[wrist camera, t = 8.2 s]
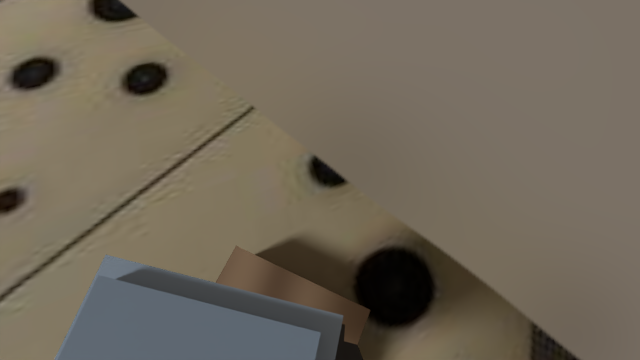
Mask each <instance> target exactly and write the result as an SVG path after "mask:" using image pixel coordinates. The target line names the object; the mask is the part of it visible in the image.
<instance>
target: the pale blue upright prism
mask: <svg viewBox="0 0 640 360" xmlns="http://www.w3.org/2000/svg"><path fill="white" fill-rule="evenodd" d="M342 321H343V315H340V314H336V313H332V312H328V311H324V310H320V309H316V308H312V307H308V306H304V305H300V304H296V303H293V302H289V301H285V300H281V299H277V298H273V297H269V296H265V295H261V294H257V293H253V292H250V291H246V290H242V289H238V288H234V287H230V286H226V285H222V284H218V283H214V282H210V281H206V280H203V279H199V278H195V277H191V276H187V275H183V274H179V273H175V272H171V271H167V270H163V269H160V268H156V267H152V266H148V265H144V264H140V263H136V262H132V261H128V260H124V259H120V258H117V257H113V256H109V255H105V257H104V259H103V261H102V264H101V266H100V268H99V270H98V272H97V274H96V276H95V278H94V280H93V282H92V284H91V286H90V288H89V290H88V292H87V294H86V296H85V298H84V300H83V302H82V304H81V306H80V308H79V311H78V313H77V315H76V317H75V319H74V321H73V323H72V325H71V327H70V329H69V331H68V333H67V335H66V337H65V339H64V341H63V343H62V345H61V347H60V349H59V351H58V353H57V356H56V358H55V360H335V357H336V352H337V347H338V341H339V336H340V331H341V326H342Z"/></svg>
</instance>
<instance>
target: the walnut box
mask: <svg viewBox="0 0 640 360" xmlns="http://www.w3.org/2000/svg"><path fill="white" fill-rule="evenodd" d="M216 283H218V284H222V285H226V286H230V287H234V288H238V289H242V290H246V291H250V292H253V293H257V294H261V295H265V296H269V297H273V298H277V299H281V300H285V301H289V302H293V303H296V304H300V305H304V306H308V307H312V308H316V309H320V310H324V311H328V312H332V313H336V314H340V315H343V321H342V324H345V334H344V341H346V342H349V343H353V344H357V345H358V343H359V340H360V337H361V335H362V332H363V329H364V326H365V324H366V321H367V318H368V316H369V313H370V310H369V309H367V308H365V307H363V306H361V305H359V304H357V303H355V302H353V301H351V300H348V299H346V298H344V297H342V296H340V295H338V294H336V293H334V292H332V291H330V290H328V289H325V288H323V287H321V286H319V285H317V284H315V283H313V282H311V281H309V280H307V279H305V278H302V277H300V276H298V275H296V274H294V273H292V272H290V271H288V270H286V269H284V268H281V267H279V266H277V265H275V264H273V263H271V262H269V261H267V260H265V259H263V258H261V257H258V256H256V255H254V254H252V253H250V252H248V251H246V250H244V249H242V248H240V247H238V246H236V247H235V249H234V251H233V252H232V254H231V256H230V258H229V260H228V261H227V263H226V265H225V267H224V269H223V270H222V272H221V274H220V276H219V278H218V279H217V281H216Z"/></svg>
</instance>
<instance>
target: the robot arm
mask: <svg viewBox="0 0 640 360" xmlns="http://www.w3.org/2000/svg"><path fill="white" fill-rule="evenodd" d="M344 334H345V324H342V326H341V331H340V336H339V341H338V347H337V352H336V357H335V360H363V358H362V356H361V353H360V351H359V348H358V346H357V344H353V343H349V342H346V341H344Z"/></svg>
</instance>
